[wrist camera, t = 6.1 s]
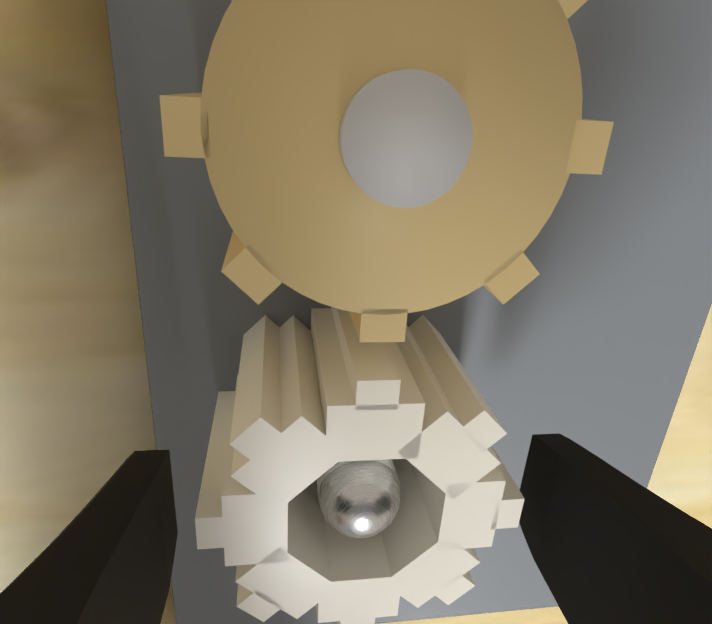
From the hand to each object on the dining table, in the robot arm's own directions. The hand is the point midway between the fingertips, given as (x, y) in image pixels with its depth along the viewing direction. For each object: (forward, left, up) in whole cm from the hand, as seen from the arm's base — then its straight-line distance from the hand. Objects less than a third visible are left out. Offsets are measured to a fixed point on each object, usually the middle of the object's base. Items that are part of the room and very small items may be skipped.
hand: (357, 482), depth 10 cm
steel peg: (0, 0, -4) cm, 4 cm away
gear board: (+3, 0, -4) cm, 5 cm away
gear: (0, 0, -3) cm, 3 cm away
